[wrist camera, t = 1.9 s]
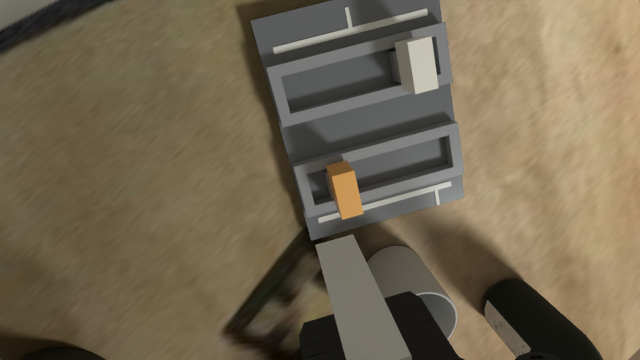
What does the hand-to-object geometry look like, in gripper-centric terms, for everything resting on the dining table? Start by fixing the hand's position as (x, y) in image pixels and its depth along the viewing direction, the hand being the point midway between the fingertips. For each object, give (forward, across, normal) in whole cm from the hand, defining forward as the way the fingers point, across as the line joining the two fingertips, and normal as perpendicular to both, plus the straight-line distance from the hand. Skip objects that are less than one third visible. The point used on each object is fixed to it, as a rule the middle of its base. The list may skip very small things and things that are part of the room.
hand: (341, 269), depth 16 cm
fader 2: (+31, +14, +3) cm, 34 cm away
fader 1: (+31, +4, -8) cm, 33 cm away
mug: (+34, +7, -25) cm, 42 cm away
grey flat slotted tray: (+34, +9, -2) cm, 35 cm away
